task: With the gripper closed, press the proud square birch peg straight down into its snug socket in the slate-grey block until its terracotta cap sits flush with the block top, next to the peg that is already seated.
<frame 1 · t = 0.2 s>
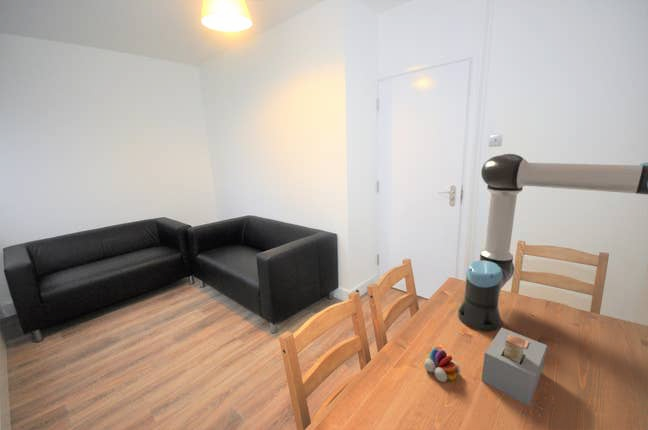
rainbow disc toy: (441, 372, 87), on the table
peg: (513, 353, 80), point 11 cm above the table, slide at 5.0 cm
socket block: (511, 376, 84), on the table
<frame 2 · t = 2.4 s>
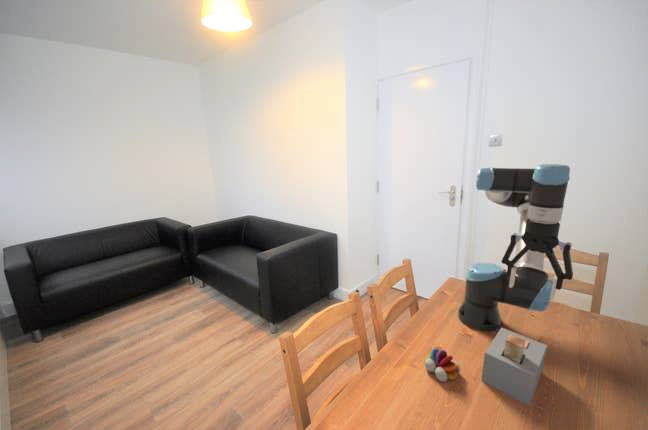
hand: (530, 291, 83), 26 cm above the table, fingers open, 9 cm apart
nothing on the table moved.
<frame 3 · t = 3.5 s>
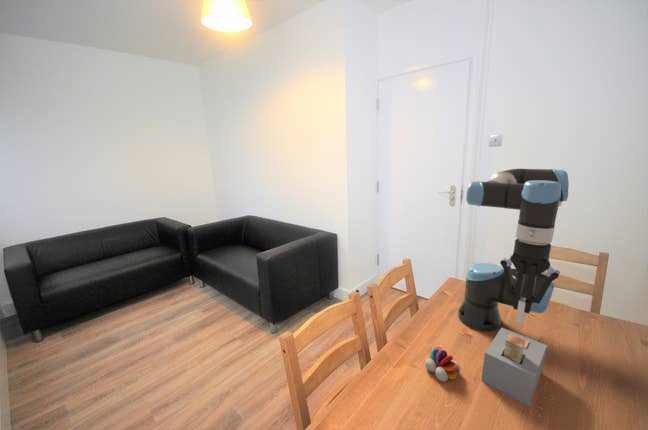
hand: (519, 320, 77), 21 cm above the table, fingers closed
nothing on the table moved.
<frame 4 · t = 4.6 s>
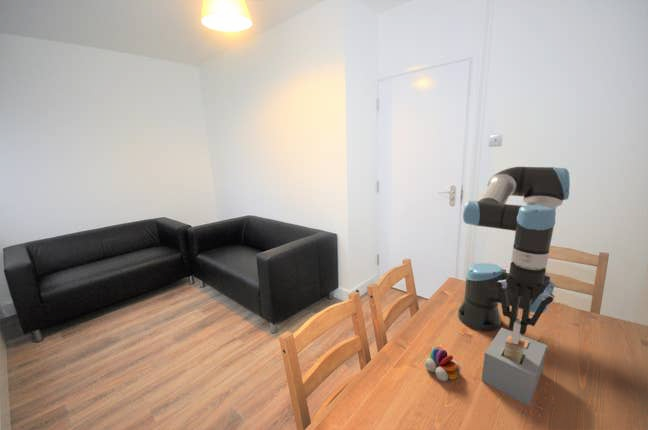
hand: (515, 341, 78), 15 cm above the table, fingers closed
peg: (513, 354, 80), point 10 cm above the table, slide at 4.6 cm, touching gripper
everything else where it was.
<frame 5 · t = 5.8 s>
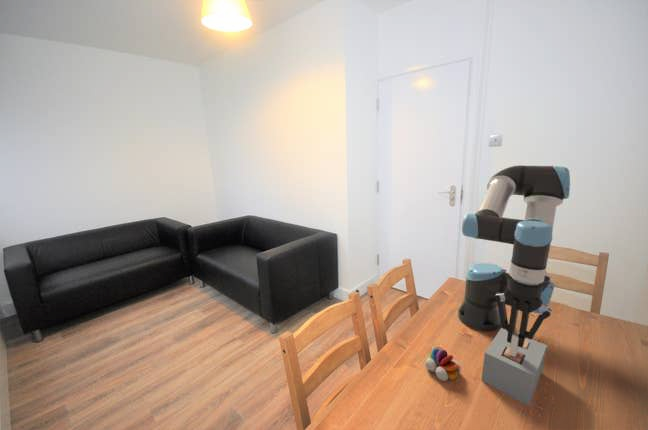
hand: (513, 353, 79), 11 cm above the table, fingers closed
peg: (511, 366, 81), point 6 cm above the table, slide at 0.4 cm, touching gripper
everything else where it was.
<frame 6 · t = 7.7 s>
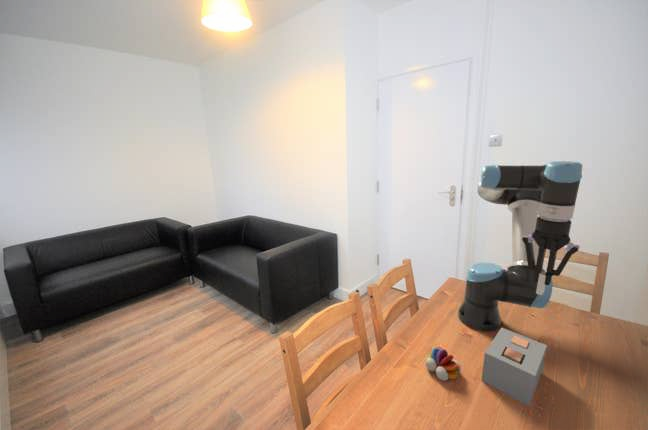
hand: (540, 292, 84), 25 cm above the table, fingers closed
peg: (511, 367, 81), point 6 cm above the table, slide at 0.4 cm
everything else where it was.
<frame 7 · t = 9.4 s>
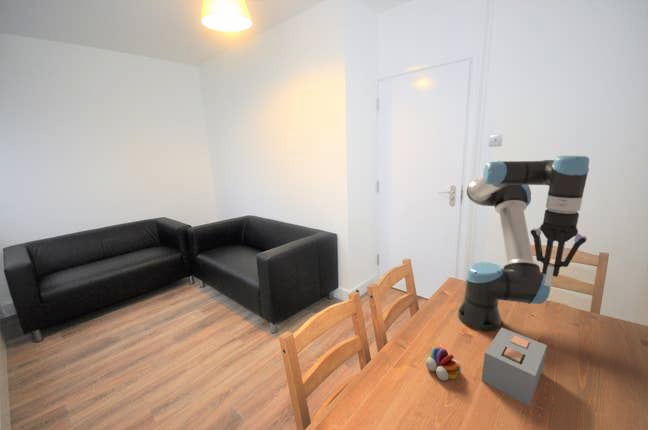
hand: (548, 284, 86), 26 cm above the table, fingers closed
nothing on the table moved.
at the end: peg slide at 0.4 cm; peg touching nothing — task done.
